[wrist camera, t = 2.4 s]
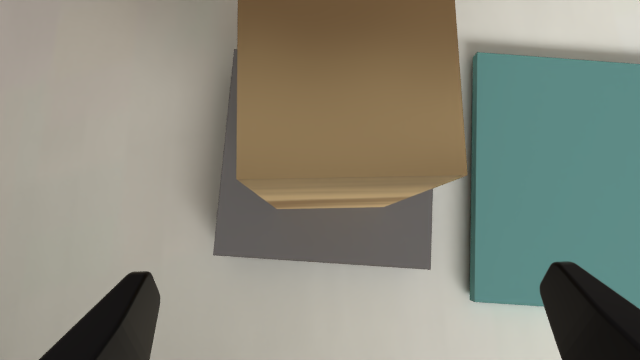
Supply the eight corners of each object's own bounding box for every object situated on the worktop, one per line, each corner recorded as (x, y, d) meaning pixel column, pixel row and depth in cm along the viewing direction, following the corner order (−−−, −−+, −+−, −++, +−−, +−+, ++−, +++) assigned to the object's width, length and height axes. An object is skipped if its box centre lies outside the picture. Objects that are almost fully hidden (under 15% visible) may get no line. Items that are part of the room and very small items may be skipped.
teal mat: (722, 316, 20) (734, 318, 19) (469, 299, 20) (474, 301, 19) (705, 74, 22) (715, 69, 21) (472, 57, 22) (477, 52, 21)
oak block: (383, 207, 18) (467, 174, 9) (276, 209, 18) (236, 179, 8) (379, 104, 19) (451, -36, 9) (276, 105, 19) (238, -35, 9)
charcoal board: (418, 266, 20) (430, 269, 18) (222, 253, 20) (213, 255, 18) (424, 79, 21) (436, 63, 19) (241, 66, 21) (234, 49, 19)
